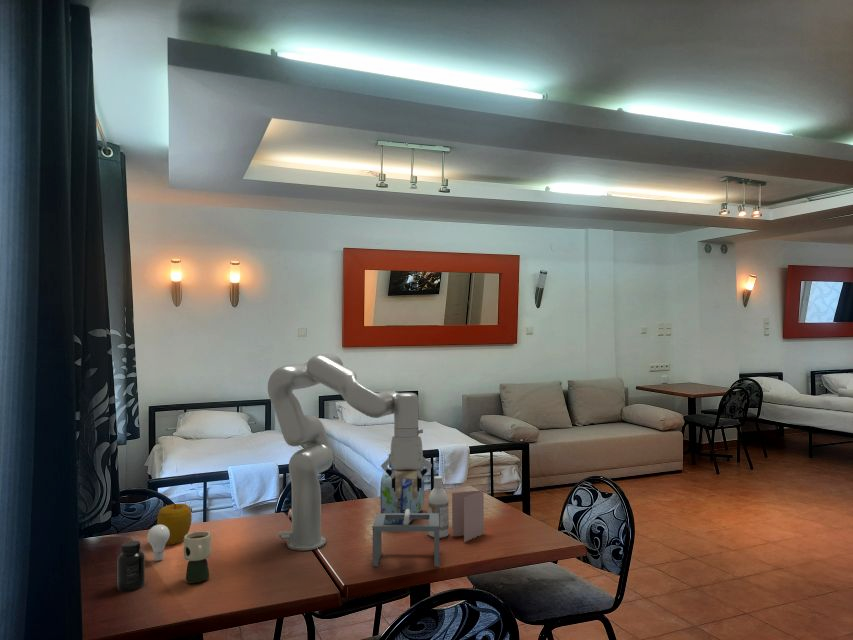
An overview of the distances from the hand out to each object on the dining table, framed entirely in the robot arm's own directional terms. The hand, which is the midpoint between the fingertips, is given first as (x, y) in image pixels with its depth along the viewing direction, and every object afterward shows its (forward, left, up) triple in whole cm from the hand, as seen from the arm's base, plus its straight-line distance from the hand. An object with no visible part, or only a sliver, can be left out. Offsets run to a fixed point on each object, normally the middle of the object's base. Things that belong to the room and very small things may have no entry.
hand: (406, 489), depth 188 cm
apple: (-79, +15, -21) cm, 83 cm away
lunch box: (-3, +40, -21) cm, 45 cm away
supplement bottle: (-76, -20, -21) cm, 82 cm away
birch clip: (0, 0, -2) cm, 2 cm away
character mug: (-59, -16, -21) cm, 65 cm away
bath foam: (+10, +22, -21) cm, 32 cm away
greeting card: (+21, +19, -21) cm, 35 cm away
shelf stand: (0, 0, -21) cm, 21 cm away
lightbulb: (-77, -1, -21) cm, 80 cm away
